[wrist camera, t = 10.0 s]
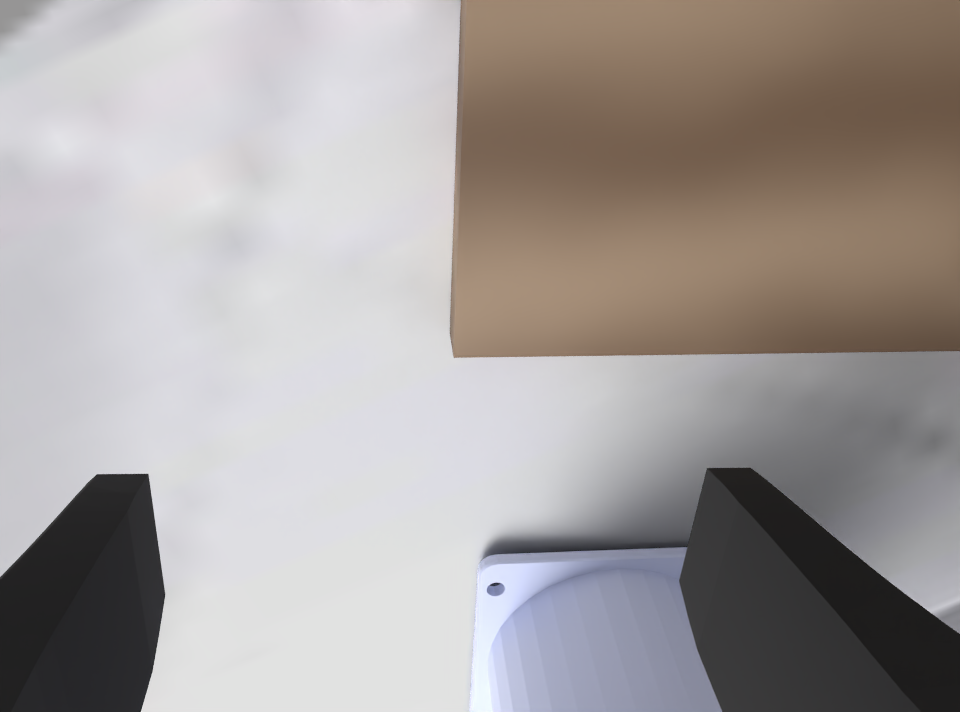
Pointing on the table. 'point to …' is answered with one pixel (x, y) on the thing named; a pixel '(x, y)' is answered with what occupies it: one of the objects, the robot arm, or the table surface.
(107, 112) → the table surface
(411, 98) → the table surface
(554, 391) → the table surface
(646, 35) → the test bench
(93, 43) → the table surface
